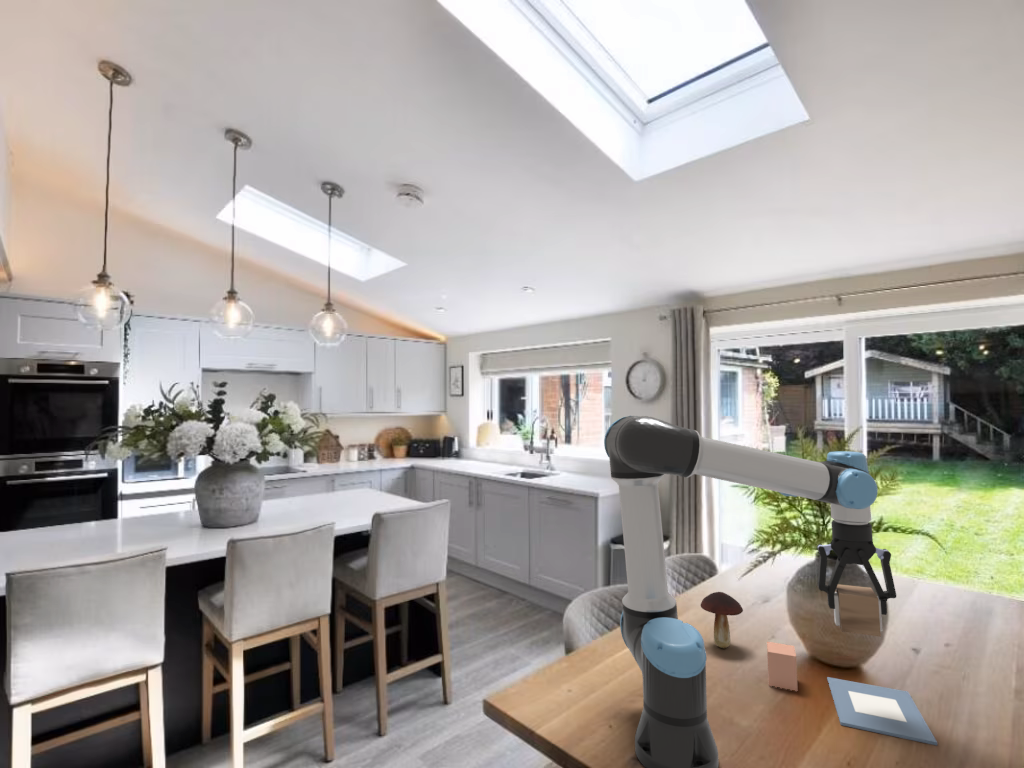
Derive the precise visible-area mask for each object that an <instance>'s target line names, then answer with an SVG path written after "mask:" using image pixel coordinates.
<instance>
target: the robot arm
mask: <svg viewBox="0 0 1024 768" xmlns="http://www.w3.org/2000/svg"><path fill="white" fill-rule="evenodd" d="M603 443H604V445H603V446H604V450H605V452H606V455H607V457H608V458H609V467H610V470H609V471H610V476H611V479H612V480H613V481H614V482H615V483H616V484H617V485H618V493H619V501H620V502H619V504H620V513H621V526H622V535H623V536H622V537H623V547H624V556H625V560H624V561H625V570H626V578H627V579H626V580H627V581H626V583H627V593H626V594H625V595H624V596H623V597H622V599H621V603H622V612H621V615H620V619H619V621H620V622H619V626H620V628H619V629H620V634H621V637H622V640H623V642H624V644H625V646H626V647H627V649H628V650H629V652H630V654H631V655H632V657H633V659H634V661H635V662H636V664H637V666H638V667H639V669H640V671H641V675H642V694H643V695H642V698H643V699H642V700H643V701H642V702H643V708H642V711H641V715H640V718H639V722H638V725H637V728H636V731H635V735H634V751H635V755H636V757H637V759H638V760H639V762H640V763H641V765H642V766H643V767H644V768H719V750H718V746H717V743H716V741H715V738H714V735H713V731H712V728H711V725H710V723H709V720H708V710H707V709H708V708H707V707H708V700H707V672H706V671H707V666H706V665H707V664H706V663H707V653H706V649H705V641H704V638H703V636H702V634H701V633H700V631H699V630H698V629H697V628H696V627H695V626H693V625H691V624H690V623H688V622H684V621H683V620H681V619H679V617H678V606H677V599H676V598H675V597H674V596H673V595H672V594H671V593H670V592H669V585H668V578H667V577H668V576H667V567H666V566H667V565H666V557H665V556H666V555H665V545H664V534H663V524H662V523H663V521H662V513H661V503H660V490H659V482H660V481H661V480H662V479H663V478H664V476H665V475H670V476H671V475H672V476H678V477H683V478H686V479H688V478H690V477H692V476H693V475H698V476H701V477H706V478H711V479H712V478H713V479H716V480H721V481H726V482H729V483H730V482H731V483H735V484H739V485H745V486H748V487H752V488H753V487H754V488H758V489H764V490H767V491H772V492H777V493H779V494H780V495H783V496H784V497H793V498H797V497H801V498H805V499H811V500H815V501H817V502H818V501H819V502H822V503H826V504H827V503H829V504H830V517H831V518H832V521H831V522H830V523H831V534H832V535H831V536H832V537H831V538H832V540H831V542H830V543H829V544H821V543H819V544H817V550H818V553H819V560H818V571H817V572H818V573H817V587H818V589H819V591H820V592H825V593H826V594H827V605H828V608H829V609H831V610H833V617H834V624H835V626H838V627H840V616H839V600H838V594H837V592H835V590H836V588H837V585H838V584H839V583H840V580H841V577H842V576H843V575H842V574H843V572H844V569H845V568H846V566H847V565H853V564H856V565H859V566H862V567H863V568H864V570H865V572H866V573H867V575H868V578H869V580H870V582H871V584H872V586H873V588H874V590H875V592H876V595H877V597H878V602H879V617H880V632H881V633H882V632H883V619H882V617H883V616H886V615H887V614H888V607H887V601H888V600H889V599H896V598H897V591H896V588H895V582H894V576H893V572H892V569H891V564H890V563H891V559H892V558H891V557H892V553H891V552H890V551H889V549H886V548H883V549H882V548H877V547H876V545H875V544H874V541H873V528H872V527H873V526H872V524H871V523H870V522H872V513H871V506H872V505H873V504H874V503H875V501H877V500H876V499H877V497H878V491H879V490H878V489H879V488H878V485H877V484H878V483H877V482H876V480H875V478H874V477H872V476H871V474H870V471H869V468H868V462H867V456H866V455H865V454H864V453H863V452H859V451H849V450H848V451H844V450H842V451H838V450H836V451H829V452H828V453H827V454H826V455H827V456H826V460H825V461H823V460H822V461H815V460H812V459H811V460H810V459H806V458H801V457H797V456H796V457H795V456H792V455H789V454H788V455H786V454H782V453H778V452H773V451H769V450H765V449H764V450H763V449H760V448H755V447H750V446H745V445H741V444H736V443H730V442H727V441H723V440H719V439H713V438H708V437H704V436H701V435H700V433H699V431H697V430H695V429H690V428H687V427H683V426H680V425H676V424H673V423H670V422H667V421H664V420H663V419H662V420H661V419H658V418H655V417H653V416H647V415H645V416H644V415H642V416H640V415H627V416H622V417H621V418H619V419H617V420H615V421H614V422H612V423H611V424H610V425H609V426H608V429H607V430H606V432H605V435H604V439H603ZM831 551H833V552H834V553H835V555H836V556H837V559H836V563H835V565H834V568H833V571H832V574H831V575H830V578H829V581H828V583H827V584H826V578H827V568H828V567H827V566H828V556H829V555H830V553H831ZM875 554H876V555H877V558H878V560H879V559H880V565H881V570H882V575H883V580H884V583H885V584H884V585H885V589H886V590H884V589H883V587H882V585H881V583H880V581H879V579H878V577H877V576H876V573H875V571H874V569H873V567H872V565H871V563H870V560H871V559H872V557H874V555H875ZM882 615H883V616H882Z"/></svg>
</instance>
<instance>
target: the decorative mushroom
mask: <svg viewBox="0 0 1024 768" xmlns="http://www.w3.org/2000/svg"><path fill="white" fill-rule="evenodd" d="M700 608H701V609H702V610H703V611H705V612H708V613H712V614H714V622H713V623H714V624H713V640H714V643H715V645H716V646H717V647H719V648H720V649H726V648H728V647H729V646H730V644H731V631H730V623H729V619H728V616H732V617H733V616H738V615H740V614H742V613H743V611H744V608H743V607H742V605H741V604H740V602H738V601H737V600H736V599H735V598H734V597H733V596H731V595H729V594H727V593H726V592H723V591H716V592H711V593H710V594H708V595H706V596H705V597H704V598H703V599H702V600H701V602H700Z"/></svg>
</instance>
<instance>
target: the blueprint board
mask: <svg viewBox="0 0 1024 768" xmlns="http://www.w3.org/2000/svg"><path fill="white" fill-rule="evenodd" d="M826 679H827V682H828V683H829V684H828V683H827V684H828V686H829V691H830V690H831V691H830V694H831V696H832V700H834V701H833V703H834V707H835V710H836V714H837V717H839V718H838V720H839V724H840V726H844V727H849V728H853V729H856V730H857V729H858V730H861V731H868V732H871V733H872V732H873V733H877V734H881V735H885V736H891V737H896V738H900V739H904V740H909V741H914V742H919V743H923V744H928V745H933V746H938V741H937V739H936V738H935V736H934V734H933V732H932V731H931V729H930V727H929V725H928V724H927V722H926V721H925V719H924V717H923V715H922V713H921V711H920V710H919V708H918V706H917V705H916V703H915V701H914V699H913V697H912V696H911V694H910V692H909V691H907V690H901V689H894V688H890V687H885V686H879V685H874V684H867V683H863V682H856V681H853V680H851V681H850V680H847V679H846V680H845V679H840V678H835V677H829V676H827V677H826Z"/></svg>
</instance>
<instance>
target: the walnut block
mask: <svg viewBox="0 0 1024 768" xmlns="http://www.w3.org/2000/svg"><path fill="white" fill-rule="evenodd" d="M835 592H837V594H838V600H839V616H840V626H839V628H840V631H841V632H843V633H849V634H850V633H852V634H856V635H857V634H858V635H867V636H873V637H881V635H882V634H881V633H882V632H881V631H880V617H879V602H878V595H877V593H875V591H874V590H873V588H872V587H869V586H858V585H848V584H839V583H838V585H837V588H836V590H835Z"/></svg>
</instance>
